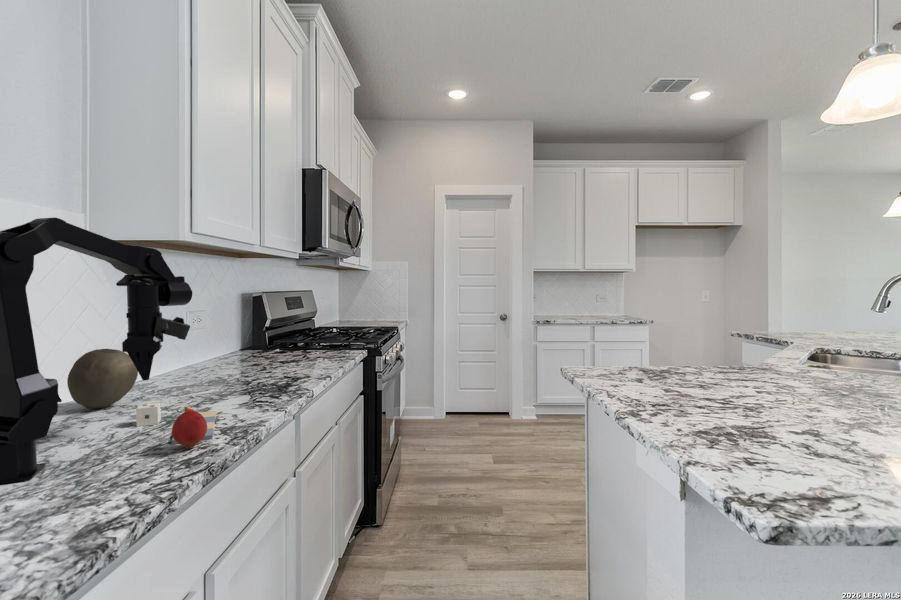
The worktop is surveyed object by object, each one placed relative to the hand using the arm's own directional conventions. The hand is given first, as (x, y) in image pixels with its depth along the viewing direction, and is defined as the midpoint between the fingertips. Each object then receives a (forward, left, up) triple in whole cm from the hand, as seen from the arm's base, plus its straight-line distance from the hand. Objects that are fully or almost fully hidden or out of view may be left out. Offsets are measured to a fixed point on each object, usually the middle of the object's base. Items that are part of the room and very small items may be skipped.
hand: (145, 379), depth 97 cm
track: (-3, -9, -11) cm, 15 cm away
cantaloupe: (+28, +14, -11) cm, 33 cm away
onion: (-17, -9, -11) cm, 22 cm away
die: (+6, +1, -11) cm, 13 cm away
